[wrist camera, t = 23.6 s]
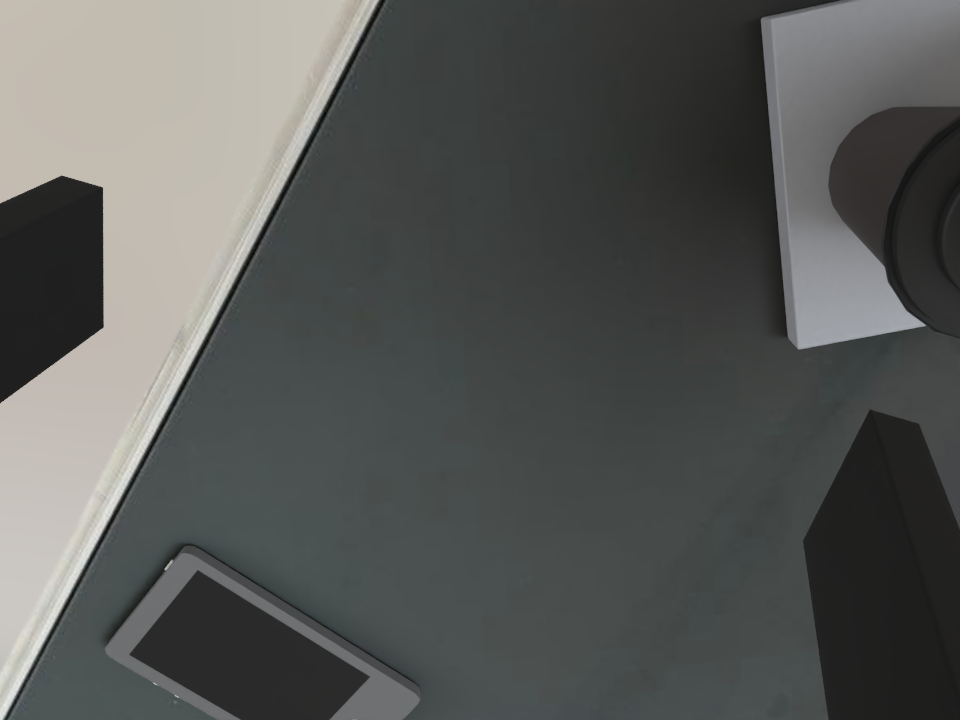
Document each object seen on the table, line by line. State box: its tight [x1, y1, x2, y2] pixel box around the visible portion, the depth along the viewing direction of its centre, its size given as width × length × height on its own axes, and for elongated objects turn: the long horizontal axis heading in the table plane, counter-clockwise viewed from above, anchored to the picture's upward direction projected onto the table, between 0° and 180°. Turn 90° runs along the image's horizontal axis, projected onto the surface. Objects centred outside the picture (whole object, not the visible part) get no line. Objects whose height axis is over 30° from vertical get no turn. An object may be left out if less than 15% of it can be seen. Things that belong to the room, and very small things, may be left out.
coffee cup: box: [828, 106, 960, 338], centre depth 32 cm, size 8×8×10 cm
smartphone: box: [105, 546, 421, 720], centre depth 48 cm, size 15×8×1 cm, turn 51°
